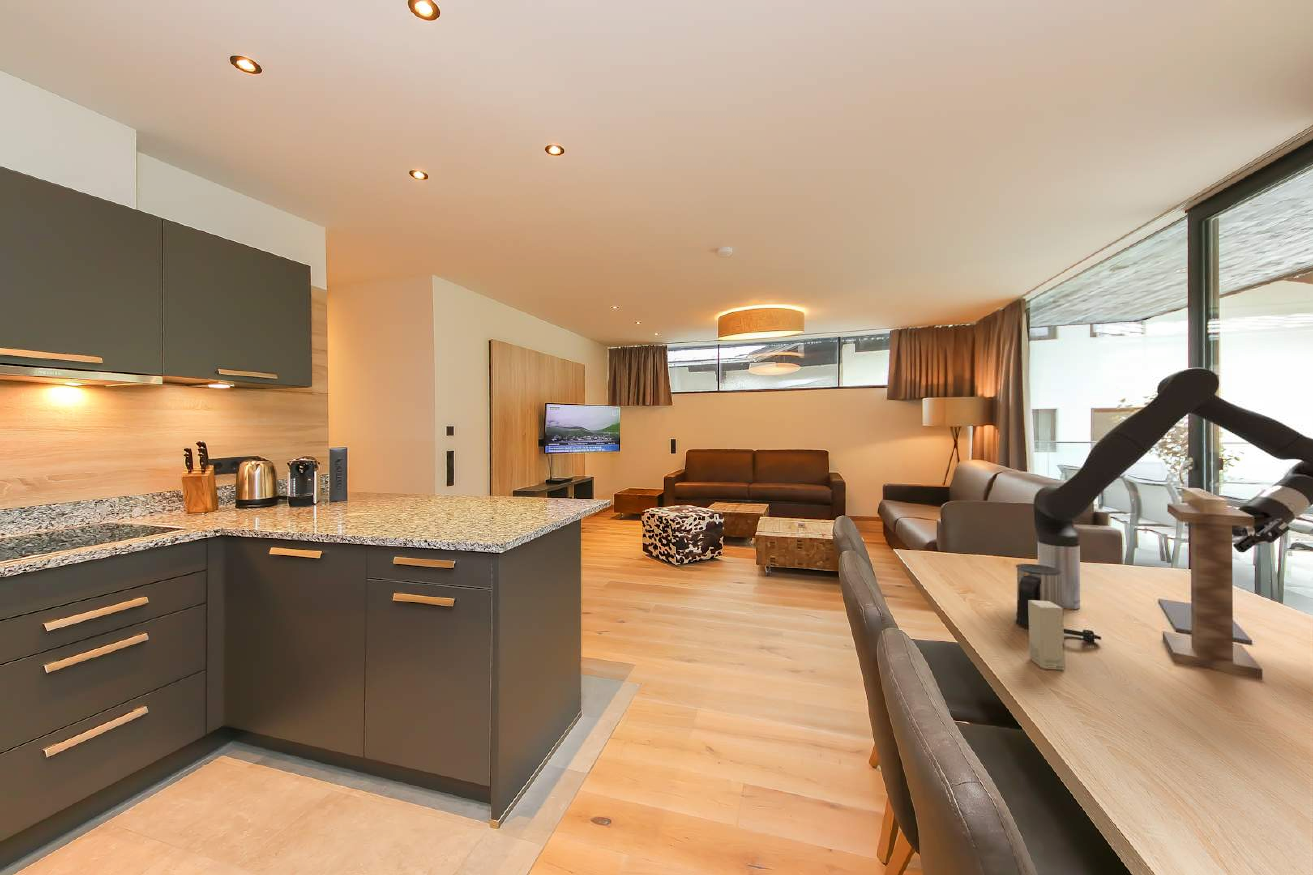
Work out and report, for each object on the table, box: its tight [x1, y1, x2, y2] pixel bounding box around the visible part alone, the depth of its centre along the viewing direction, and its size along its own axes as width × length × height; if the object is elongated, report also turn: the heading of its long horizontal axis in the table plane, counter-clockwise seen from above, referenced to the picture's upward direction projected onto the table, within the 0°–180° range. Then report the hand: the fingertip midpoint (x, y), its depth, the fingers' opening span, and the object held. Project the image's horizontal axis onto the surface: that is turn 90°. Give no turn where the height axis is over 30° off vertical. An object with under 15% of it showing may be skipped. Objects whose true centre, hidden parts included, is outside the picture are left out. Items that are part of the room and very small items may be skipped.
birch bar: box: [1181, 487, 1228, 515], centre depth 108 cm, size 3×24×3 cm, turn 141°
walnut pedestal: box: [1162, 502, 1263, 680], centre depth 104 cm, size 12×15×32 cm
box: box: [1028, 600, 1066, 671], centre depth 103 cm, size 5×4×13 cm
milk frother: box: [1015, 563, 1102, 643], centre depth 119 cm, size 14×16×15 cm
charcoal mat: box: [1157, 598, 1253, 645], centre depth 125 cm, size 12×26×1 cm, turn 141°
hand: (1218, 547), depth 115 cm, fingers open, 8 cm apart
